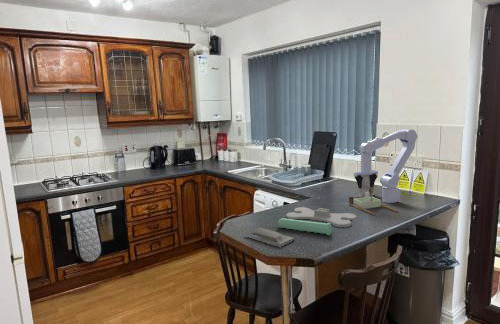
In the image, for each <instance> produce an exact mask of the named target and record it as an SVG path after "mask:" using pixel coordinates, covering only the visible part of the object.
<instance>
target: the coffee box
mask: <svg viewBox="0 0 500 324" xmlns="http://www.w3.org/2000/svg"><path fill="white" fill-rule="evenodd" d="M371 171H375V170H374V169H373V170H372V169H371ZM361 177H363V180H362V188H361V189H360V188H359V195H365V192H369V194H372V197H374V195H375V185H374V186H373V187H370V179H369V175H363V176H361Z"/></svg>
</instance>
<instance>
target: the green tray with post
mask: <svg viewBox="0 0 500 324" xmlns="http://www.w3.org/2000/svg"><path fill="white" fill-rule="evenodd" d="M353 204H355V205H357V206H359V207H361V208H364V209H366V210H367V209H372V208H382V207H381V204H382V199H379V198H377V197H374V196H372V197H369V192H365V197H364V198H356V199H353Z"/></svg>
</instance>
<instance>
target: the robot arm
mask: <svg viewBox="0 0 500 324" xmlns="http://www.w3.org/2000/svg"><path fill="white" fill-rule="evenodd" d="M417 133H418V132H416V130H414V129H406V128H400V129H398V130H396V131H394V132H392V133H389V134H388V135H386V136H384V137H378V136H376V137H375V138H374V139H372V140H367V142H362V143H361V145H360V146H359V147H358V149H359V152H360V171H355V172H353V177H354V179H355V181H356V184H357V187H358V189H359V190H360V189H361V188H362V180H363V177H361V176H363V175H369V179H370V187H373V186H374V187H375V182H376V180H377V179H378V175H379V171H378V170H374V171H371V170H372V157H373V156H372V154H373V152H375V151H376V150H379V149H380V148H381V149H382V148H383V147H384V146H385V144H387V143H390V142H392V141H396V140H398V139H399V141H400V142H401V143H402V148H401V151H400V152H399V154H398V155H397V157H396V159H395V161H394V162H393V164H392V165H391V168H390V169H389V170H387V171H386V172H385V173H384V174H383V175H382V176H381V177H380V179H379V182H380V184H381V202H383V203H387V204H393V203H398V202H399V203H401V204H402V202H401V190H400V188H399V187H398V186H399V181H400V179H401V177H400V173H401V171H402V170H403V168H404V167H405V165H406V163H407V162H408V160H409V158H410V157H411V155H412V153H413V151H414V150H415V147H416V141H417V139H418V134H417Z"/></svg>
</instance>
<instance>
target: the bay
mask: <svg viewBox="0 0 500 324" xmlns="http://www.w3.org/2000/svg"><path fill="white" fill-rule="evenodd" d="M364 197H365V195H360V194H359V195H349V196H348V203H349V206H350V207H353V208H355V209H358V210H359V211H362V212H364V213H366V214H368V215H371V216H372V217H375V216H376V213H374V212H372V211H370V210H368V209H367V208H366V209H364V208H361V207H359V206H357V205H355V204H353V199H356V198H364ZM369 197H373V196H372V194H369ZM380 208H384V209H386V210H389V211H391V212H394V213H399V210H397V209H395V208H393V207H390V206H387V205H385V204H382V203H381V207H380Z"/></svg>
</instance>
